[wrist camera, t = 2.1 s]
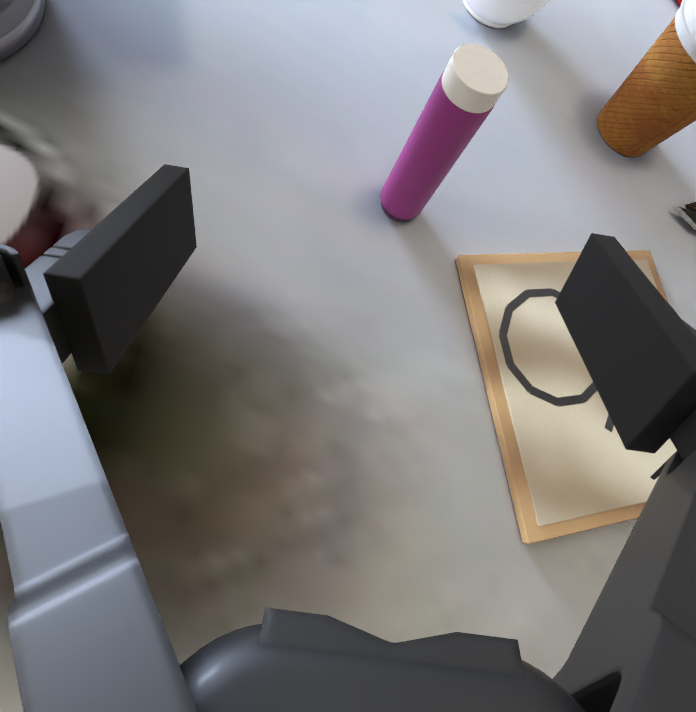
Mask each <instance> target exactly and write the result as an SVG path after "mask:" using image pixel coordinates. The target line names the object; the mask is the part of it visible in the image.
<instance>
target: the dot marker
mask: <svg viewBox="0 0 696 712" xmlns="http://www.w3.org/2000/svg"><path fill="white" fill-rule="evenodd" d="M508 81H509V76H508V71H507V68H506V66H505V65H504V63H503V62H502V60H501V59H500V58H499V57H498V56H497V55H496V54H495V53H494V52H492V51H491V50H489V49H487V48H485V47H483V46H480V45H476V44H465V45H462V46H460V47H458V48H457V49H456V50H455V51H454V53H453V55H452V57H451V59H450V61H449V63H448V65H447V67H446V69H445V70H444V71H443V73H442V74H441V76H440V78H439V80H438V82H437V84H436V86H435V88H434V90H433V92H432V94H431V96H430V98H429V100H428V101H427V103H426V105H425V107H424V109H423V111H422V113H421V115H420V117H419V119H418V121H417V123H416V125H415V127H414V129H413V131H412V132H411V134H410V136H409V138H408V140H407V142H406V144H405V146H404V148H403V150H402V152H401V154H400V156H399V158H398V160H397V161H396V163H395V165H394V167H393V169H392V171H391V173H390V175H389V177H388V179H387V181H386V183H385V185H384V187H383V189H382V191H381V204H382V208H383V210H384V212H385V213H386V214H387V215H388V216H389V217H390V218H392V219H393V220H396V221H407V220H409V219H411V218H414V217H416V216H417V215H419V214H420V212H421V211H422V209H423V208H424V206H425V205H426V204H427V202H428V201H429V199H430V198H431V196H432V195H433V194H434V192H435V191H436V189H437V188H438V186H439V185H440V183H441V182H442V181H443V179H444V178H445V176H446V175H447V173H448V172H449V171H450V169H451V168H452V166H453V165H454V163H455V162H456V161H457V159H458V158H459V156H460V155H461V153H462V152H463V150H464V149H465V148H466V146H467V145H468V143H469V142H470V140H471V139H472V138H473V136H474V135H475V133H476V132H477V130H478V129H479V127H480V126H481V125H482V123H483V122H484V120H485V119H486V117H487V116H488V115H489V113H490V112H491V110H492V109H493V107H494V105H495V103H496V102H497V100H498V99H499V97H500V96H501V94H502V93H503V91H504V90H505V89H506V87H507V85H508Z"/></svg>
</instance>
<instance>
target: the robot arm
mask: <svg viewBox="0 0 696 712" xmlns="http://www.w3.org/2000/svg"><path fill="white" fill-rule="evenodd" d="M44 10H45V0H0V60H2V59H4V58H6V57H8V56H9V55H11V54H13V53H14V52H16V51H17V50H18V49H20V48H21V47H22V46H23V45H25V44H26V43H27V41H28V40H29V39H30V38H31V37H32V36H33V35H34V33H35V32H36V30H37V29H38V27H39V25H40V23H41V20H42V18H43V14H44ZM196 247H197V246H196V236H195V226H194V215H193V205H192V195H191V185H190V174H189V168H184V167H178V166H171V165H165V164H164V165H163V166H162V167H161V168H160V169H159V170H158V171H157V172H156V173H154V174H153V175H152V176H151V177H150V178H149V179H148V180H147V181H146V182H144V183H143V184H142V185H141V186H140V187H139V188H138V189H137V190H135V191H134V192H133V193H132V194H131V195H130V196H129V197H128V198H127V199H125V200H124V201H123V202H122V203H121V204H120V205H119V206H118V207H117V208H115V209H114V210H113V211H112V212H111V213H110V214H109V215H108V216H106V217H105V218H104V219H103V220H102V221H101V222H100V223H99V224H98V225H96V226H95V227H94V228H93V229H86V228H82V229H79V230H77V231H75V232H72V233H70V234H67V235H65V236H64V237H63V238H61V239H60V240H59V241H58V242H57V243H55V244H54V245H53V248H49V249H48V250H47V251H46V252H45V253H43V254H44V255H43V256H40V257H39V258H38V259H36V260H35V261H34V262H33V263H32V264H30V265H29V266H28V267H27V268H26V269H25V268H24V266H23V263H22V261H21V258H20V256H19V253H18V252H17V251H16V250H15V249H14V248H12V247H9V246H6V245H2V244H0V520H1V525H2V530H3V535H4V540H5V545H6V550H7V554H8V559H9V564H10V569H11V574H12V579H13V584H14V590H15V602H14V603H13V604H11V605H10V606H9V609H8V627H9V635H10V641H11V646H12V651H13V657H14V662H15V668H16V673H17V679H18V684H19V690H20V695H21V700H22V706H23V711H24V712H696V330H695V329H694V328H692V327H691V326H690V325H688V324H687V323H686V322H684V321H683V320H682V319H681V318H680V317H679V316H678V315H677V313H676V312H675V311H674V310H673V308H672V307H671V306H670V305H669V304H668V302H667V301H666V300H665V299H664V297H663V296H662V295H661V294H660V292H659V291H658V290H657V289H656V288H655V286H654V285H653V284H652V283H651V281H650V280H649V279H648V278H647V276H646V275H645V274H644V273H643V272H642V270H641V269H640V268H639V267H638V265H637V264H636V263H635V262H634V261H633V259H632V258H631V257H630V256H629V254H628V253H627V252H626V251H625V249H624V248H623V247H622V246H621V245H620V243H619V242H618V241H617V240H616V238H615V237H611V236H605V235H599V234H593V233H591V235H590V237H589V239H588V241H587V243H586V245H585V247H584V249H583V250H582V252H581V254H580V256H579V258H578V260H577V262H576V264H575V265H574V267H573V269H572V271H571V273H570V275H569V277H568V279H567V280H566V282H565V284H564V286H563V288H562V290H561V292H560V294H559V296H558V297H557V299H556V301H555V304H556V306H557V308H558V310H559V312H560V314H561V316H562V318H563V320H564V323H565V325H566V327H567V329H568V331H569V333H570V335H571V337H572V339H573V341H574V343H575V345H576V347H577V349H578V352H579V354H580V356H581V358H582V360H583V362H584V364H585V366H586V368H587V370H588V372H589V374H590V376H591V378H592V381H593V383H594V385H595V387H596V389H597V391H598V393H599V395H600V397H601V399H602V401H603V403H604V405H605V407H606V410H607V412H608V414H609V416H610V418H611V420H612V422H613V424H614V426H615V428H616V430H617V432H618V434H619V436H620V439H621V441H622V443H623V445H624V447H625V449H626V450H633V451H640V452H647V453H654V454H655V453H656V452H657V451H658V450H659V449H660V448H661V447H662V445H663V444H664V443H665V442H666V441H667V440H668V439H669V438H670V439H671V441H672V443H673V444H674V446H675V448H676V450H677V451H676V452H675V453H674V454H673V455H672V456H671V457H670V458H669V459H668V460H667V461H666V462H665V463H664V464H663V465H662V466H661V467H660V468H659V469H658V470H657V471H656V472H655V473H654V474H653V475H652V476H651V477H650V478H652V479H653V480H655V479H656V478H658V477H659V478H658V480H657V482H656V484H655V486H654V488H653V490H652V492H651V494H650V496H649V498H648V500H647V502H646V504H645V506H644V508H643V510H642V512H641V514H640V516H639V518H638V520H637V522H636V524H635V526H634V528H633V530H632V532H631V534H630V536H629V538H628V540H627V542H626V544H625V546H624V548H623V550H622V552H621V554H620V556H619V558H618V560H617V562H616V564H615V566H614V568H613V570H612V572H611V574H610V576H609V578H608V580H607V582H606V584H605V586H604V588H603V590H602V592H601V594H600V596H599V598H598V600H597V602H596V604H595V606H594V608H593V610H592V612H591V614H590V616H589V618H588V620H587V622H586V624H585V626H584V628H583V630H582V632H581V634H580V636H579V638H578V640H577V642H576V644H575V646H574V648H573V650H572V652H571V654H570V656H569V658H568V660H567V661H566V663H565V665H564V666H563V667H562V669H561V670H560V671H559V672H558V673H557V675H556V676H555V677H554V678H553V679H551V678H550V677H549V676H547V675H546V674H545V673H543V672H542V671H541V670H539V669H537V668H535V667H534V666H532V665H530V664H529V663H527V662H525V661H523V660H521V656H520V650H519V645H518V640H515V639H507V638H499V637H492V636H484V635H476V634H468V633H460V632H454V633H449V634H443V635H438V636H432V637H427V638H421V639H416V640H410V641H405V642H399V643H392V642H388V641H385V640H383V639H381V638H378V637H376V636H374V635H372V634H369V633H367V632H365V631H362V630H360V629H358V628H355V627H353V626H351V625H349V624H346V623H344V622H342V621H339V620H337V619H335V618H332V617H330V616H327V615H319V614H312V613H304V612H296V611H288V610H280V609H273V608H265V612H264V617H263V622H262V624H258V625H252V626H247V627H244V628H241V629H238V630H235V631H232V632H230V633H228V634H225V635H223V636H221V637H219V638H217V639H215V640H214V641H212V642H210V643H209V644H207V645H205V646H204V647H202V648H201V649H199V650H198V651H197V652H196V653H194V654H193V655H192V656H191V657H189V658H188V659H187V660H185V661H184V662H183V663H182V664H181V665H180V666H179V663H178V661H177V658H176V655H175V653H174V650H173V648H172V645H171V643H170V640H169V638H168V635H167V632H166V630H165V627H164V625H163V622H162V620H161V617H160V614H159V612H158V609H157V607H156V604H155V602H154V599H153V597H152V594H151V591H150V589H149V586H148V584H147V581H146V579H145V576H144V573H143V571H142V568H141V566H140V563H139V561H138V558H137V555H136V553H135V550H134V548H133V545H132V543H131V540H130V538H129V535H128V532H127V530H126V527H125V525H124V522H123V520H122V517H121V514H120V512H119V509H118V507H117V504H116V502H115V499H114V496H113V494H112V491H111V489H110V486H109V484H108V481H107V479H106V476H105V473H104V471H103V468H102V466H101V463H100V461H99V458H98V455H97V453H96V450H95V448H94V445H93V443H92V440H91V438H90V435H89V432H88V430H87V427H86V425H85V422H84V420H83V417H82V414H81V412H80V409H79V407H78V404H77V402H76V399H75V396H74V394H73V391H72V389H71V386H70V384H69V381H68V379H67V376H66V373H65V371H64V368H63V366H62V363H63V362H64V361H65V360H66V359H67V357H68V356H69V355H70V354H71V353H72V355H73V358H74V361H75V364H76V367H77V369H78V370H79V371H86V372H93V373H99V374H106V375H110V373H111V372H112V370H113V369H114V367H115V366H116V364H117V363H118V362H119V360H120V359H121V357H122V356H123V354H124V353H125V351H126V350H127V348H128V347H129V345H130V344H131V342H132V341H133V339H134V338H135V337H136V335H137V334H138V332H139V331H140V329H141V328H142V326H143V325H144V323H145V322H146V320H147V319H148V317H149V316H150V314H151V313H152V312H153V310H154V309H155V307H156V306H157V304H158V303H159V301H160V300H161V298H162V297H163V295H164V294H165V292H166V291H167V290H168V288H169V287H170V285H171V284H172V282H173V281H174V279H175V278H176V276H177V275H178V273H179V272H180V270H181V269H182V267H183V266H184V265H185V263H186V262H187V260H188V259H189V257H190V256H191V254H192V253H193V251H194V250H195V248H196Z"/></svg>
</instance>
